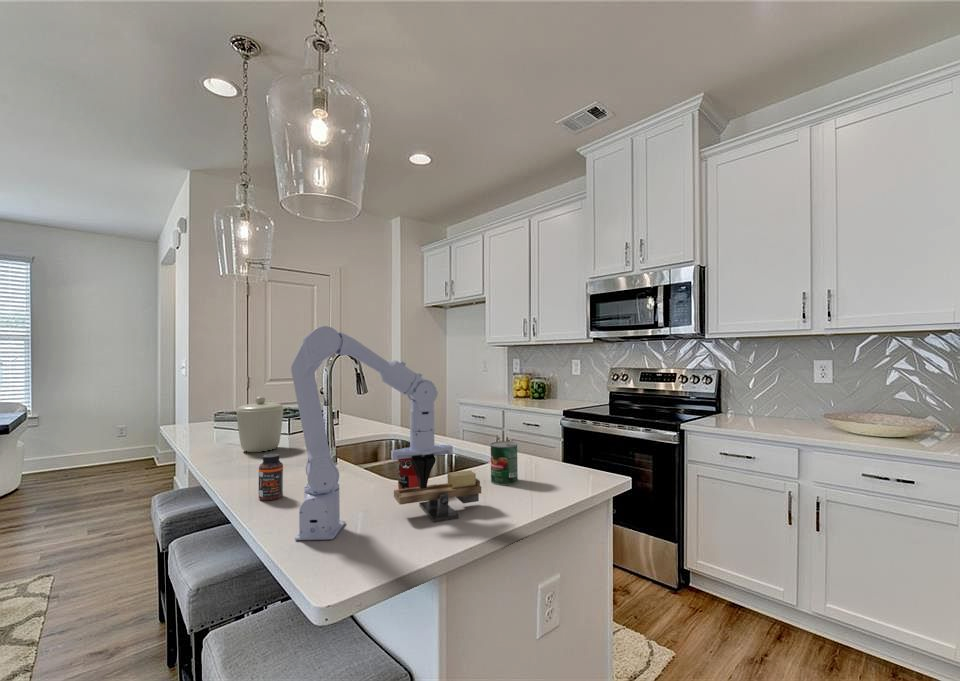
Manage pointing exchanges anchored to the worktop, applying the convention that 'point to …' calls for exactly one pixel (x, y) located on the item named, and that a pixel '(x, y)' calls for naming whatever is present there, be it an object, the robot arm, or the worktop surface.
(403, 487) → the canned food
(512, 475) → the canned tomato
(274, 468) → the supplement bottle
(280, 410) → the canister
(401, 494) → the beam
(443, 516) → the stand
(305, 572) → the worktop surface
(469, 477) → the rider
